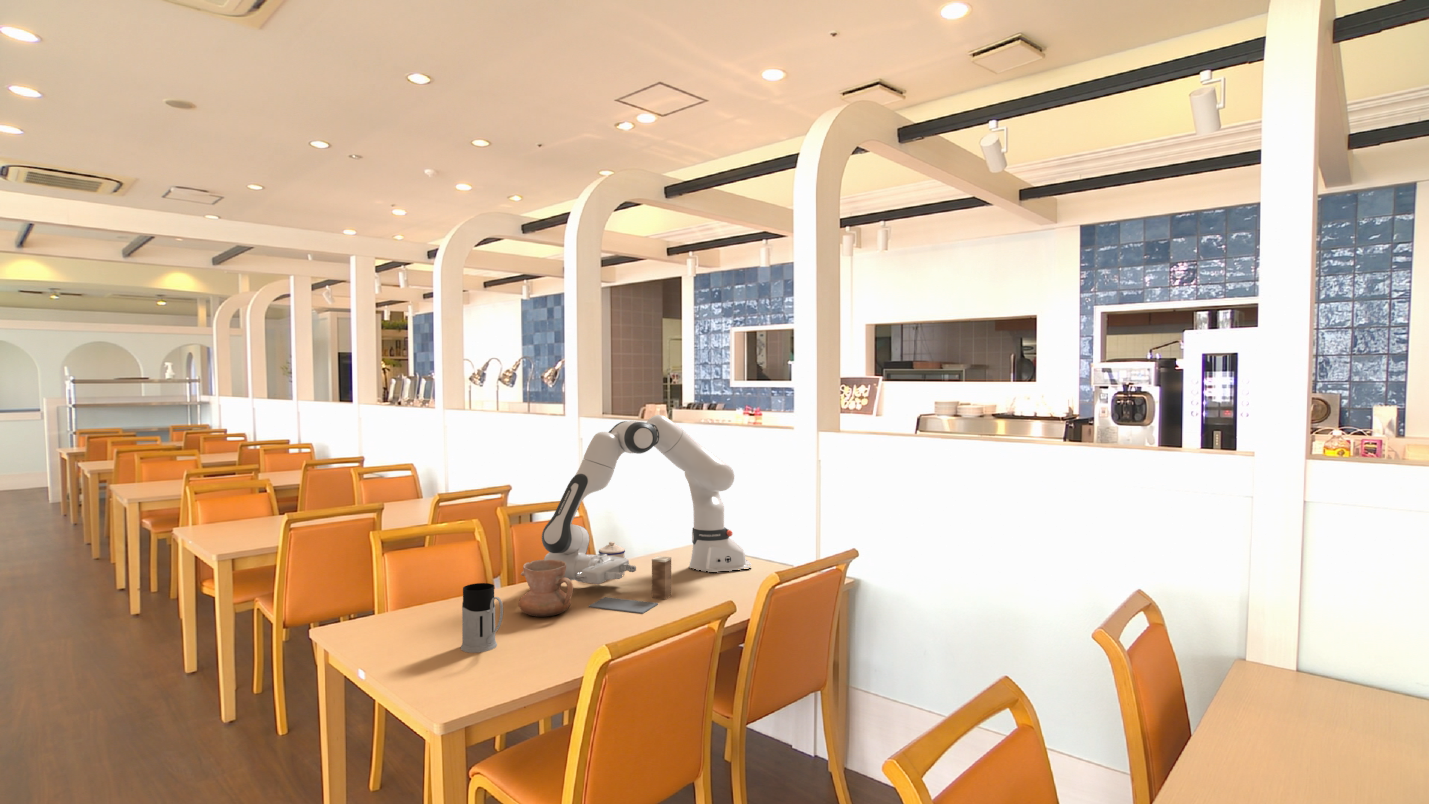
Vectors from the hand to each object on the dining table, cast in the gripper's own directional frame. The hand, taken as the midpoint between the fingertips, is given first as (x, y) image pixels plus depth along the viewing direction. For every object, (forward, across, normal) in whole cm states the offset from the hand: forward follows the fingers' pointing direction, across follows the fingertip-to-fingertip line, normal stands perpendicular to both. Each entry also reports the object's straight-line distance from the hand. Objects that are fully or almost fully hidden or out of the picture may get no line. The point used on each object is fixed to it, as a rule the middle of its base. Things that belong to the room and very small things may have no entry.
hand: (628, 572), depth 237 cm
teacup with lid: (-16, +19, +7) cm, 25 cm away
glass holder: (-9, -58, +7) cm, 59 cm away
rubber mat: (+5, -13, +6) cm, 15 cm away
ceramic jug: (-12, -28, +7) cm, 31 cm away
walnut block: (+12, 0, +6) cm, 13 cm away
